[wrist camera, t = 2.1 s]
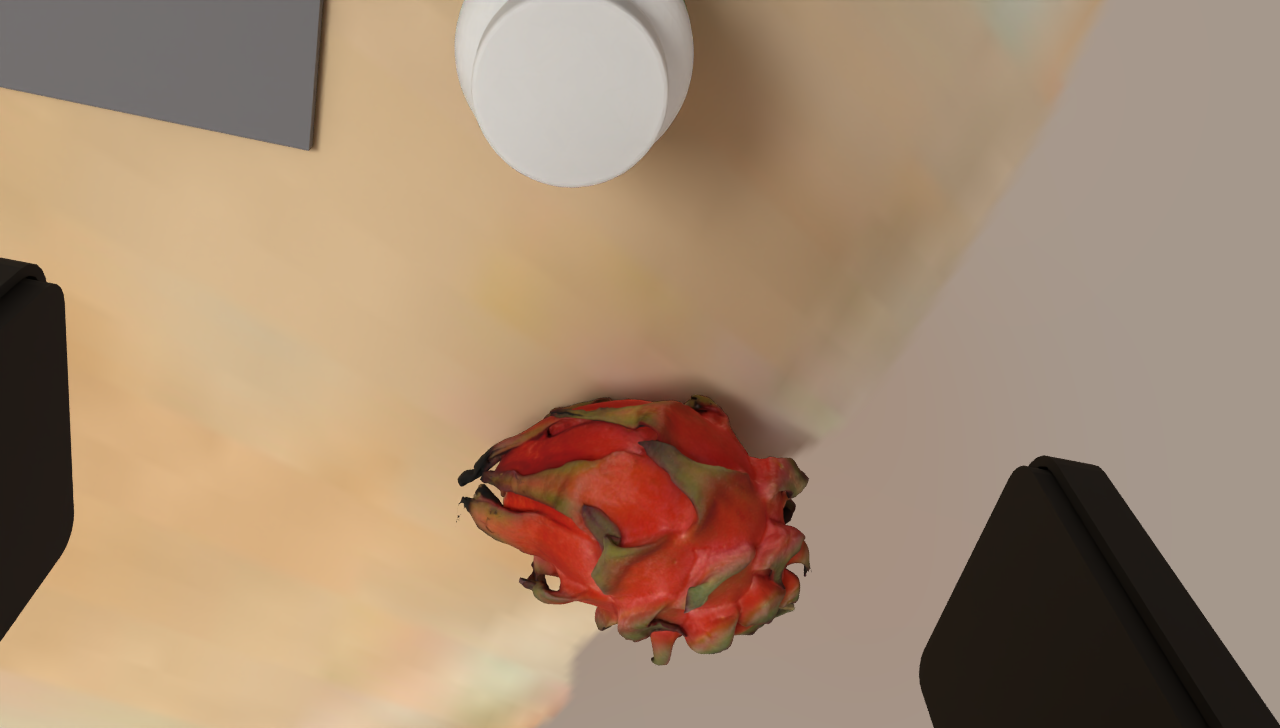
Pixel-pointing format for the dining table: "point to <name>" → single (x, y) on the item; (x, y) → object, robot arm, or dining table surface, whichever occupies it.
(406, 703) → the dining table surface
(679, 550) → the dragon fruit
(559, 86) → the supplement bottle
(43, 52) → the mat
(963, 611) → the robot arm
